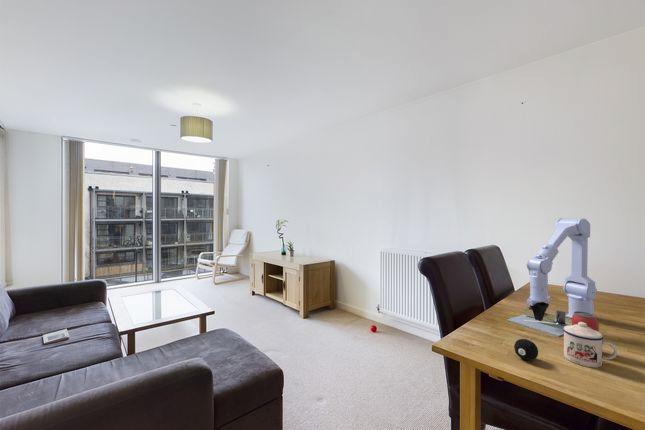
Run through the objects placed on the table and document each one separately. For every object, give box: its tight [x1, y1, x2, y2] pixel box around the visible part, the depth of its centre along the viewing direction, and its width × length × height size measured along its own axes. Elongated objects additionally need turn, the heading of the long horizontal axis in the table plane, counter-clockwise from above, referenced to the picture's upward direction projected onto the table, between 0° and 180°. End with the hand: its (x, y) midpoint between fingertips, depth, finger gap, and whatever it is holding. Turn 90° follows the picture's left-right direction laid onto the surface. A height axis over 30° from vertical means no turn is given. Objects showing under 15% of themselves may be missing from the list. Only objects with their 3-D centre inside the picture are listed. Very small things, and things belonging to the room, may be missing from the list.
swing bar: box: [524, 305, 556, 322], centre depth 120 cm, size 10×2×4 cm, turn 39°
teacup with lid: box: [563, 322, 618, 368], centre depth 86 cm, size 12×9×12 cm
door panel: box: [506, 313, 572, 338], centre depth 116 cm, size 19×18×1 cm
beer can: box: [571, 311, 600, 333], centre depth 93 cm, size 7×7×12 cm
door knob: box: [555, 310, 567, 326], centre depth 115 cm, size 4×4×5 cm
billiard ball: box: [513, 338, 539, 361], centre depth 87 cm, size 6×6×6 cm
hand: (538, 320), depth 116 cm, fingers closed
